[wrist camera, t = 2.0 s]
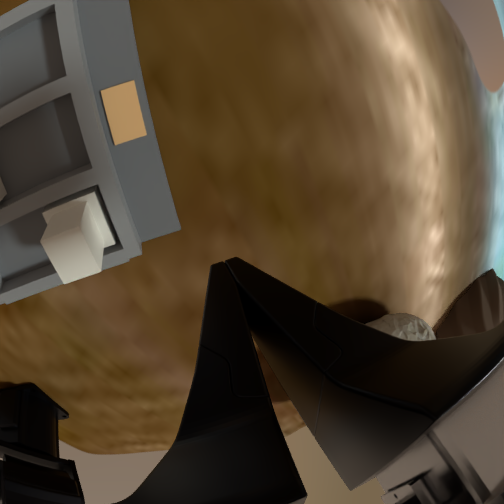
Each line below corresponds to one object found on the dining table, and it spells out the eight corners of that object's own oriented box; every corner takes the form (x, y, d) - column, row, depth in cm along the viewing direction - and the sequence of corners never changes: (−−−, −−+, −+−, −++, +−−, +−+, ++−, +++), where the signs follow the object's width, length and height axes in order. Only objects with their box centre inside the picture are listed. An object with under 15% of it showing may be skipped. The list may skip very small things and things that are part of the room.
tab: (115, 234, 15) (113, 273, 12) (68, 251, 14) (58, 292, 12) (96, 184, 13) (87, 215, 11) (46, 204, 13) (28, 239, 10)
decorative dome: (423, 361, 53) (450, 394, 45) (443, 305, 40) (483, 346, 32) (480, 313, 54) (506, 340, 47) (504, 251, 42) (539, 282, 34)
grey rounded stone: (264, 402, 35) (297, 469, 27) (322, 294, 26) (387, 380, 19) (365, 377, 42) (398, 425, 35) (427, 287, 34) (478, 339, 26)
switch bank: (178, 219, 18) (185, 242, 16) (-13, 289, 15) (-24, 315, 13) (125, -19, 9) (123, -35, 7) (-90, 105, 6) (-114, 114, 4)
